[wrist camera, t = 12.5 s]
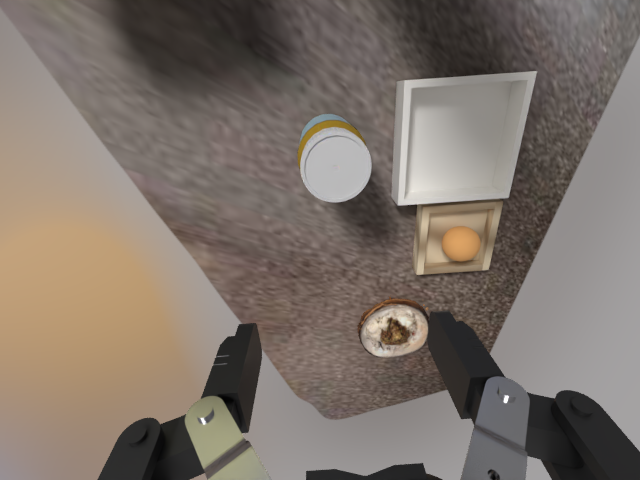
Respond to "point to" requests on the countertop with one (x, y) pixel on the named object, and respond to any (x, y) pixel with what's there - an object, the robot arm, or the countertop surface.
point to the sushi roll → (393, 328)
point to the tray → (442, 218)
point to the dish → (458, 137)
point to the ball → (461, 243)
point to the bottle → (333, 159)
